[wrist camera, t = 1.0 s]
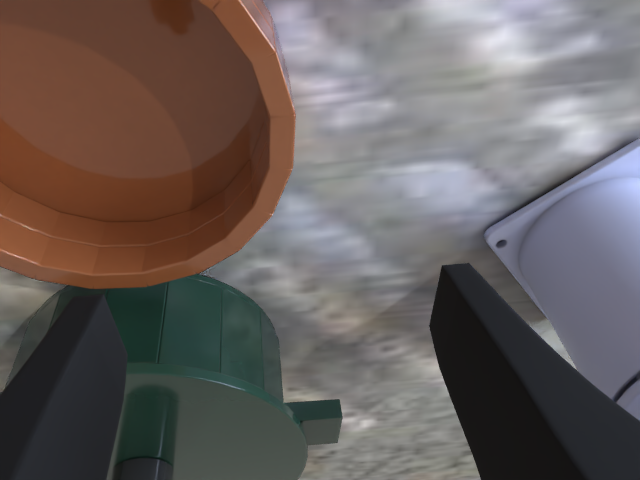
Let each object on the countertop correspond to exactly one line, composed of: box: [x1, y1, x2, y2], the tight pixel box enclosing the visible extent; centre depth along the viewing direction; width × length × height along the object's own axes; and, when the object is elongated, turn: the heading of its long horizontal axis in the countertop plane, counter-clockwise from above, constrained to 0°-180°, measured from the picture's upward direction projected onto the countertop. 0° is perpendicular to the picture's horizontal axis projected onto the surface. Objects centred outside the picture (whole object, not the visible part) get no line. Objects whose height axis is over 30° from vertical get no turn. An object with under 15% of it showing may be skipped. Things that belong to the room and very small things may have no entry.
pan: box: [0, 0, 296, 289], centre depth 17 cm, size 13×13×4 cm
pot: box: [5, 274, 342, 445], centre depth 26 cm, size 13×18×6 cm
